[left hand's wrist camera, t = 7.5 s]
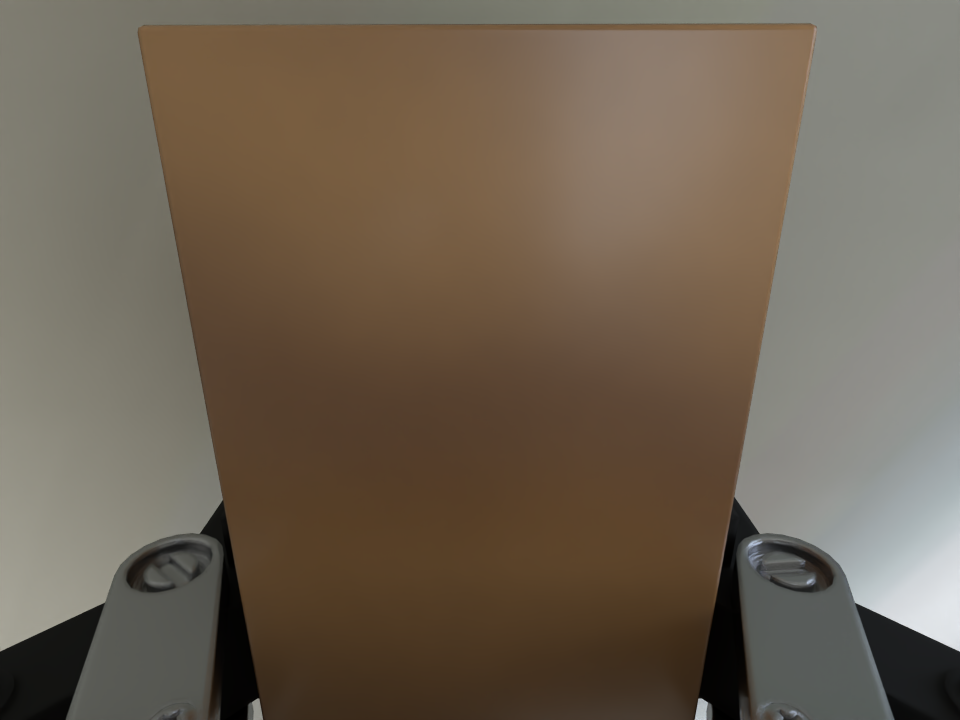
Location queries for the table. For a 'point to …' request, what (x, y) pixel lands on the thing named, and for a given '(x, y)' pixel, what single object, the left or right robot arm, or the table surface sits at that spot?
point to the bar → (478, 346)
